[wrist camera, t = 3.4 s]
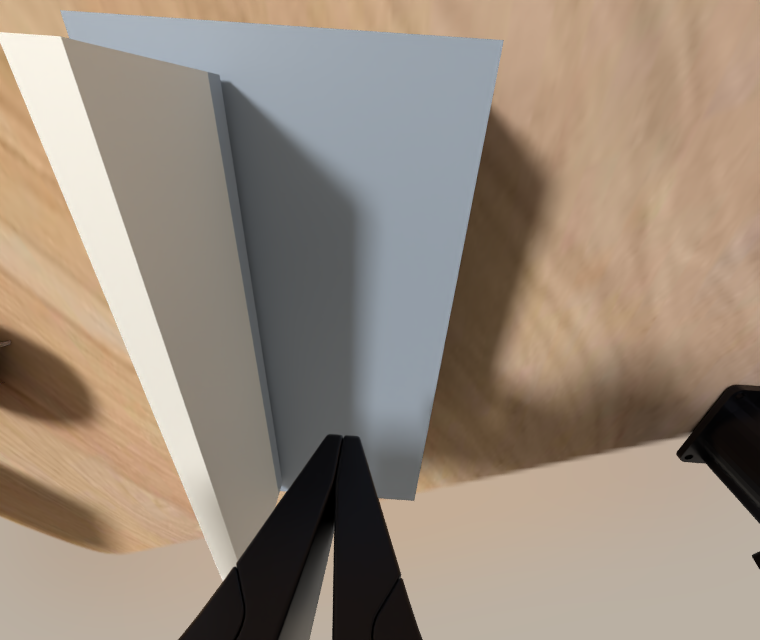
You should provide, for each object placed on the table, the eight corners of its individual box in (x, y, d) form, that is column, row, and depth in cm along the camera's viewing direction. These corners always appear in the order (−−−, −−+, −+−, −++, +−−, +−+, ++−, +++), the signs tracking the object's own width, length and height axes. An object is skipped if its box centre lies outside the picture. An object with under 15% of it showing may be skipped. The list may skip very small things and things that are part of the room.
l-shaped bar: (282, 482, 16) (248, 593, 12) (214, 477, 16) (159, 586, 12) (219, 74, 8) (59, 36, 4) (80, 65, 8) (-206, 18, 4)
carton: (409, 411, 22) (414, 500, 17) (258, 400, 22) (216, 486, 17) (460, 71, 13) (503, 40, 8) (196, 53, 13) (60, 10, 8)
